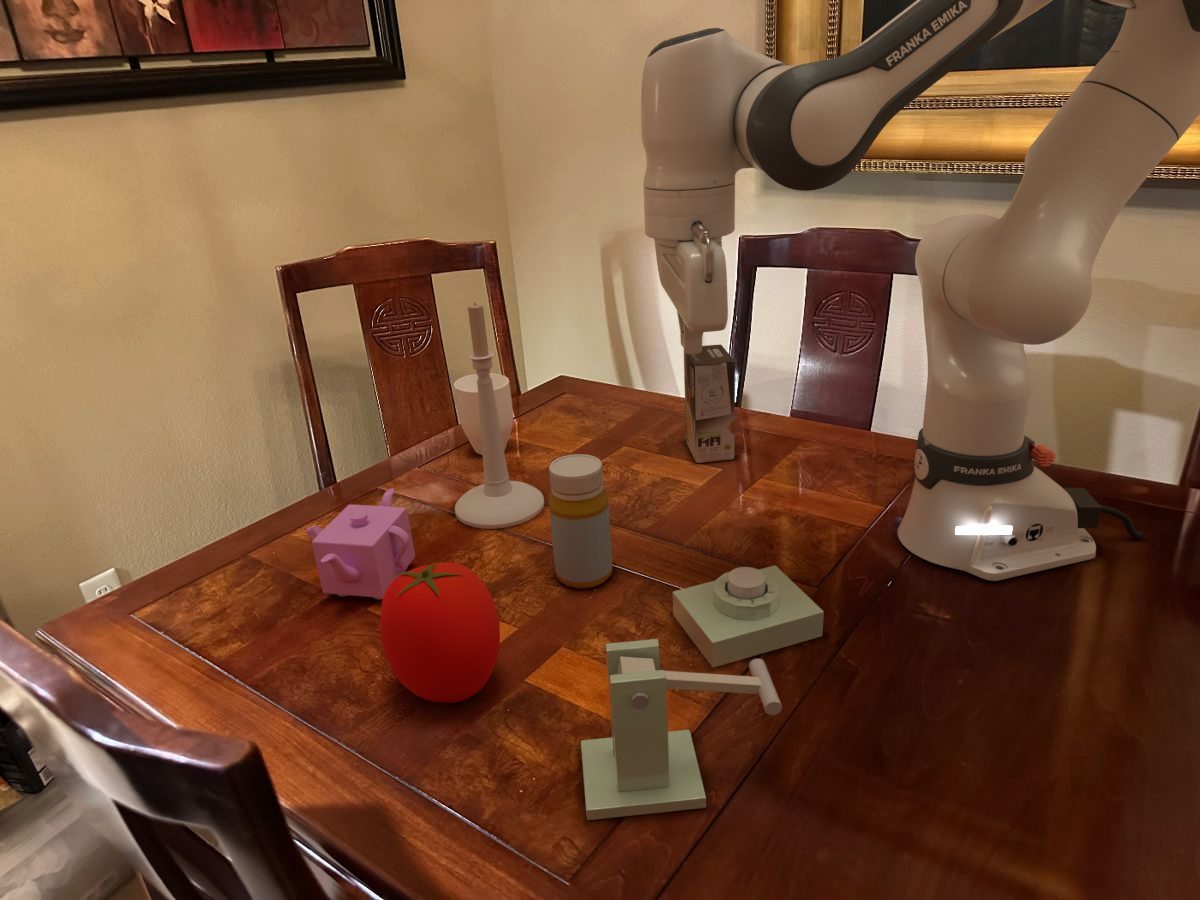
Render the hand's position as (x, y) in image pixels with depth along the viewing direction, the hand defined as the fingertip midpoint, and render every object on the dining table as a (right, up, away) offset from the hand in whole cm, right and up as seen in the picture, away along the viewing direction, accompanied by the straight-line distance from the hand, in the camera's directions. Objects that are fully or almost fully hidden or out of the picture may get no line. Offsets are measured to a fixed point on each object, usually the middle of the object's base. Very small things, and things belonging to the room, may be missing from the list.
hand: (691, 350), depth 88 cm
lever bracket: (-6, -39, -15) cm, 42 cm away
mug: (-28, -10, +53) cm, 60 cm away
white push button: (+6, -26, +2) cm, 26 cm away
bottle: (-11, -26, +15) cm, 32 cm away
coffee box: (+8, -11, +46) cm, 48 cm away
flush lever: (-2, -31, -18) cm, 36 cm away
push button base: (+6, -30, +4) cm, 31 cm away
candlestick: (-24, -19, +33) cm, 45 cm away
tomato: (-25, -35, -2) cm, 43 cm away
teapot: (-39, -27, +17) cm, 50 cm away
